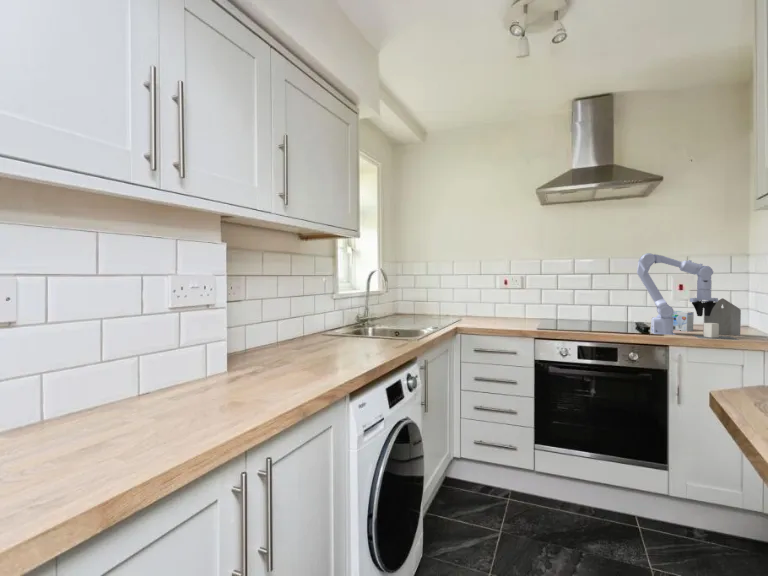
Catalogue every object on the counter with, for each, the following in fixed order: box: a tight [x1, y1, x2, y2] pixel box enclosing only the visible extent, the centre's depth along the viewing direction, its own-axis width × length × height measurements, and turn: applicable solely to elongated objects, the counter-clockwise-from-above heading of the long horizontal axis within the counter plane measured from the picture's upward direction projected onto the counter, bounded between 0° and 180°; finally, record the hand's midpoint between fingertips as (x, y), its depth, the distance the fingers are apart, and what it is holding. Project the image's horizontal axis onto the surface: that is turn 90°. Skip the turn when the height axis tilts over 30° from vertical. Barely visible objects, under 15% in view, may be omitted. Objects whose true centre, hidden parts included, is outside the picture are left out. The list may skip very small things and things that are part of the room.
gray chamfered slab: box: [702, 298, 742, 337], centre depth 208 cm, size 16×8×19 cm, turn 77°
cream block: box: [703, 322, 720, 338], centre depth 194 cm, size 4×4×7 cm
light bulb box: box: [672, 310, 695, 332], centre depth 225 cm, size 11×7×11 cm, turn 27°
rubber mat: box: [691, 334, 740, 341], centre depth 195 cm, size 16×12×1 cm
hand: (703, 316), depth 201 cm, fingers open, 4 cm apart
